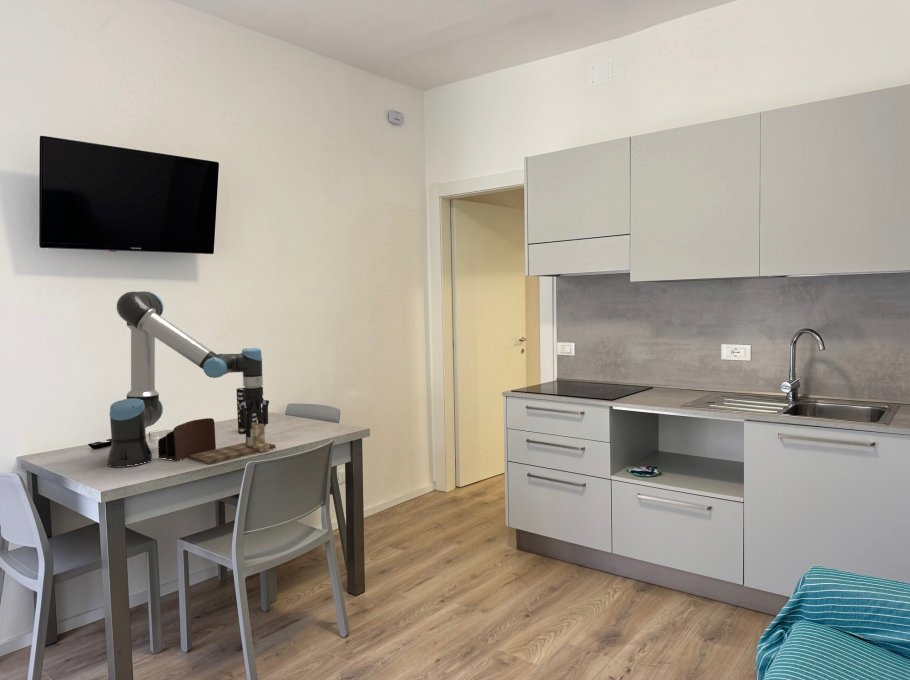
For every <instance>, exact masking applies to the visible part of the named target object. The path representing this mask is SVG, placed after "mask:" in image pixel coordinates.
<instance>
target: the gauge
mask: <svg viewBox="0 0 910 680" xmlns="http://www.w3.org/2000/svg"><path fill="white" fill-rule="evenodd" d="M241 429H243V430H245V429H244V428H241ZM251 429H253V445H252V446H251V445H248V440H247V437H246V436H245V442H246V446H249V447H253V448H257V449H259V453H264V452H268V451H270V450H269V442H266V437H265V436H266V435H265V433H266V432H265V430H266V429H265V427H264V424H260V423H258V422H257V423H255V422H253V423H252V424H251Z"/></svg>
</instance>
